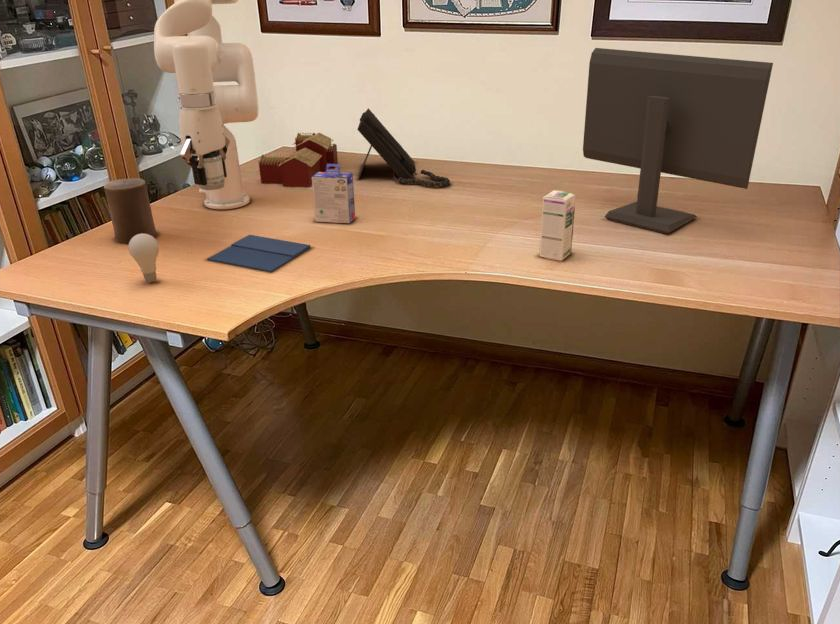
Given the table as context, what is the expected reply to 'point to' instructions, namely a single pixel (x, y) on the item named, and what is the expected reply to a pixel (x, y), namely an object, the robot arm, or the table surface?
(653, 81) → the computer monitor
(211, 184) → the camera lens
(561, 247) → the syrup box
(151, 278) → the lightbulb
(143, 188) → the pillar candle
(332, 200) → the ink cartridge box
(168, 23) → the robot arm
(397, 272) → the table surface
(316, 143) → the toy houses
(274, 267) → the cloth
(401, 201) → the table surface
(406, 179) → the office phone
